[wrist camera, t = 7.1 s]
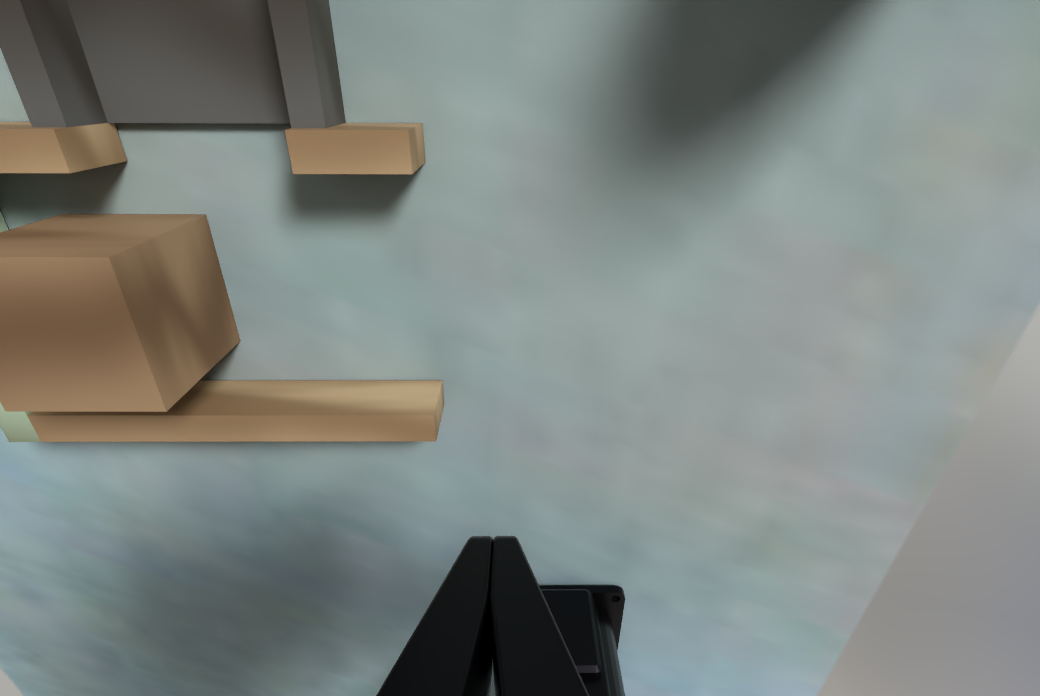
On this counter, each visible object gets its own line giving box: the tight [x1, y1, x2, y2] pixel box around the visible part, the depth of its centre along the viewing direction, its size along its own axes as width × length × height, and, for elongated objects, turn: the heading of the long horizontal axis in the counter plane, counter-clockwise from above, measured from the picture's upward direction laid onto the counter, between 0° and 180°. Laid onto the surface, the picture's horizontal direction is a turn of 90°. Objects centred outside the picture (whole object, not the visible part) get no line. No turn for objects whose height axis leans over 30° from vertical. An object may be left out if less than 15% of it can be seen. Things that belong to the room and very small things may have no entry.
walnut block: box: [0, 214, 240, 412], centre depth 17 cm, size 5×5×5 cm
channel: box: [0, 0, 444, 442], centre depth 17 cm, size 18×16×2 cm
